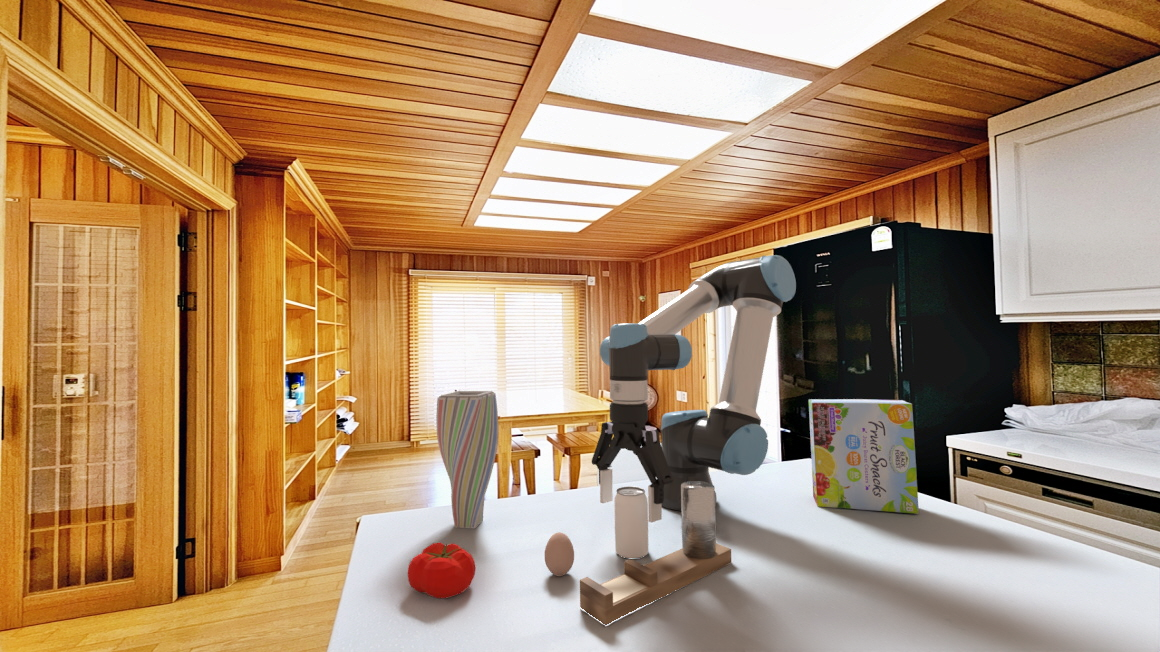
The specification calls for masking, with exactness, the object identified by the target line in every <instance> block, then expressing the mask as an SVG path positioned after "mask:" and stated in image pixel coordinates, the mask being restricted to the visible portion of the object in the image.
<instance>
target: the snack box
mask: <svg viewBox="0 0 1160 652" xmlns="http://www.w3.org/2000/svg"><path fill="white" fill-rule="evenodd" d="M808 412H809V413H808V414H809V417H808V418H809V431H810V432H809V434H810V452H811V453H810V454H811V455H810V457H811V459H810V460H811V476H812V477H811V479H812V495H813V496H812V497H813V499H814V501H815V503H816V506H817V508H818V507H819V508H836V509H851V510H863V511H876V512H877V511H878V512H889V513H890V512H891V513H902V514H903V513H904V514H905V513H906V514H917V515H918V514H920V512H919V511H920V510H919V497H918V495H919V493H918V479H917V463H916V462H917V461H916V447H915V445H916V444H915V431H914V414H913V403H911V402H907V401H906V400H903V399H901V400H900V399H899V400H898V399H869V398H868V399H866V398H865V399H863V398H856V399H855V398H853V399H851V398H850V399H848V398H846V399H845V398H843V399H839V398H837V399H831V398H830V399H825V398H824V399H821V398H818V399H816V398H815V399H812V398H811V399H810V398H809V399H808Z"/></svg>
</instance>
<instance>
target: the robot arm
mask: <svg viewBox="0 0 1160 652" xmlns="http://www.w3.org/2000/svg"><path fill="white" fill-rule="evenodd" d="M796 289H797V282H796V277H795V273H794V270H793V268H792V265H791V263H789V261H788V260H787V259H786V258H784V257H783V256H782V255H777V254H775V255H774V254H772V255H761V256H760V257H754V258H748V259H742V260H741V259H740V260H735V261H730V262H729V261H728V262H725V263H723V264H721V265H719V266H716V267H715V268H713V269H711V270H709V271H708V272H706V273H705V274H703V275H702V276H700V277H698V278H697V279H695V280H694V281H692V282H691V283H690V284H689V285H688V289H687V290H685V291H684V292H682V293H681V294H680V295H678V296H676V297H675V298H673V299H672V300H671V301H669V302H668V303H666V304H665V305H663V306H662V307H660V308H659V309H658V310H656V311H654V312H652V313H651V314H650V315H648V316H647V317H645V318H644V319H642V320H640V321H639V322H638V323H633V322H631V323H615V324H612V326H611V327H610V330H609V336H607V337H605V338H604V339H603V340H602V341H601V343H600V347H599V355H600V358H601V360H602V362H603V364H605V365H606V366H608V367H609V399H610V400H611V402H610V403H609V420H610V421H607V422H605V421H604V422H602V423H601V430H600V435H599V437H598V441H597V444H596V447H595V450H594V452H593V455H592V458H591V464H592V465H595V466H596V468H597V469H598V484H599V485H600V486H599V487H600V491H599V493H600V494H599V495H600V497H599V498H600V504H606V503H609V502H613V468H612V467H613V466H612V464H613V462H614V460H615V459H616V457H617V456H618V455H619V453H620V451H621V450H622V449H623V450H624V449H626V450H627V451H631V452H632V453H633V454H634V455H635V456H636V457H637V459H638V460H639V462H640V464H641V466H642V468H643V470H644V472H645V474H646V476H647V478H648V479H649V481H650V483H651V484H649V485H648V487H647V489H648V490H647V491H648V492H647V493H648V494H647V496H648V497H647V503H648V523H655V522H657V521H660V520H662V519H663V518H662V517H663V516H662V510H663V509H662V507H663V508H666V509H669V510H673V511H679V512H682V507H681V484H682V483H684V482H689V481H700V482H706V483H710V484H712V485H714V484H713V482H712V481H713V480H712V478H711V475H710V470H709V468H711V469H715V470H718V471H722V472H725V473H728V474H730V475H731V474H732V475H733V474H734V475H735V474H736V475H740V476H747V475H750V474H753V473H754V472H756V471H757V470H758V469H759V468H760V467H761V466H762V465H763V463H764V461H765V459H766V456H767V455H768V454H767V453H768V450H769V440H768V439H767V438H768V433H767V432H766V430H765V428H763V426H761V423H762V419H761V417H760V416H759V414H758V413H757V408H758V407H757V406H758V403H759V402H758V401H759V397H760V392H761V391H760V389H761V385H762V380H763V375H764V370H765V369H764V367H765V363H766V357H767V353H768V347H769V341H770V336H771V331H772V326H773V325H772V324H773V320H774V318H775V317H777V316H778V315H779V314H780V313H781V312H782V309H783V308H782V307H783V303H784V302H785V303H787V302H788V301H791V300H792V299H793V298H794V297H795V294H796V292H797V291H796ZM729 306H732V307H733V308H734V309H735V311H736V316H735V321H734V326H733V331H732V336H731V340H730V346H729V348H728V349H729V350H728V355H727V360H726V364H725V370H724V374H723V380H722V384H721V388H720V389H721V390H720V395H719V399H718V402H717V404H715V405H713V406H712V407H711V408H710V409H709V414H708V411H707V410H705V409H688V410H677V411H671V412H665V413H664V414H663V415H662V417H661V423H660V424H661V427H660V432H659V430H657V429H652V430H647V429H646V424H647V422H648V420H649V404H648V403H647V402H646V401H647V400H648V399H649V393H648V392H649V390H648V388H649V387H648V385H649V383H648V379H649V378H648V375H649V374H648V372H649V371H664V370H665V371H667V370H668V371H669V370H670V371H675V370H681V369H684V368H685V367H687V366H688V365H689V364H690V362H691V360H692V357H693V349H692V344H691V342H690V341H689V339H688V338H687V337H686V336H684V335H681V334H678V333H679V332H680V331H682V330H683V329H685V328H686V327H687V326H688V325H690V324H692V323H693V322H694V321H696V320H697V319H699V318H700V317H701V316H702V315H704V314H711V313H713V312H715V311H717V309H720V308H723V307H729ZM660 440H661V441H660ZM717 502H718V501H717V492H716V491H715V507H716V506H717Z"/></svg>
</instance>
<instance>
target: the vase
mask: <svg viewBox="0 0 1160 652" xmlns="http://www.w3.org/2000/svg"><path fill="white" fill-rule="evenodd" d="M496 396H497V395H496V392H495V391H493V390H457V391H453V392H449V393H444V394H441V395H440V396H438V397H437V401H436V418H435V419H436V437H437V443H438V449H439V451H440V452H439V454H440V455H441V458H442V461H443V462H442V463H443V465H444V468H445V470H446V473H447V476H448V479H449V482H450V488H451V492H450V493H451V494H450V495H451V496H450V497H451V510H452V511H451V512H452V516H453V517H452V518H453V525H454V526H453V527H454V528H457V527H458V528H460V529H461V528H462V529H476V528H477V527H478V526H479V524H481V523H482V522H483V520H484V509H485V508H484V507H485V496H486V493H487V489H488V486H489V483H490V481H491V477H492V473H493V469H494V465H495V461H496V455H497V450H498V442H499V414H498V402H497V397H496Z"/></svg>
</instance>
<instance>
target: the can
mask: <svg viewBox="0 0 1160 652" xmlns="http://www.w3.org/2000/svg"><path fill="white" fill-rule="evenodd" d="M614 541H615V553H616V554H617V555H618V554H619V555H620V556H619V555H618V556H619V557H621V556H622V557H621V558H623V557H625V558H624V559H626V558H640V559H642V558H641V557H643V556H645V555H646V556H647V555H648V554H649V508H648V497H647V495H646V490H645V489H644V488H642V487H639V486H631V485H630V486H621V487H618V488H616V494H615V497H614ZM646 556H645V557H646ZM643 558H644V557H643Z"/></svg>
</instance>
